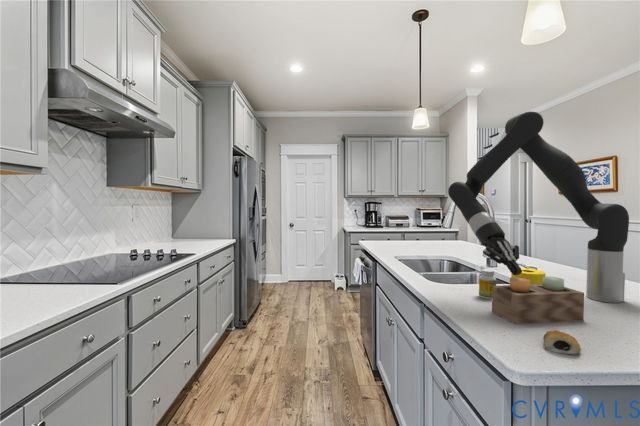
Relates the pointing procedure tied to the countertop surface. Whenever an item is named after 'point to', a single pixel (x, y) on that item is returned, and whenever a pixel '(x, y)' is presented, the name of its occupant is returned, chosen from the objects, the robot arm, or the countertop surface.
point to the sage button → (553, 283)
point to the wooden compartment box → (538, 304)
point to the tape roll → (531, 275)
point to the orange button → (520, 284)
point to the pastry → (561, 343)
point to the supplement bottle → (486, 283)
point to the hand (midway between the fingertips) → (518, 273)
